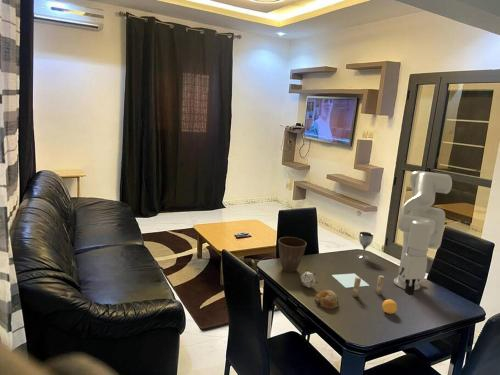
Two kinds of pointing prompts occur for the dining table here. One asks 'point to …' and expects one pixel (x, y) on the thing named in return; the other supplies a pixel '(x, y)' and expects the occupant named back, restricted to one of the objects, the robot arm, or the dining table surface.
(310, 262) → the dining table surface
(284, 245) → the plant pot
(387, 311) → the ball
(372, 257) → the dining table surface
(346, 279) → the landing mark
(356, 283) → the post
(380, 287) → the post
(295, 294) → the dining table surface
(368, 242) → the wine glass
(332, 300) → the bread roll
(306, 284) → the game die
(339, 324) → the dining table surface
